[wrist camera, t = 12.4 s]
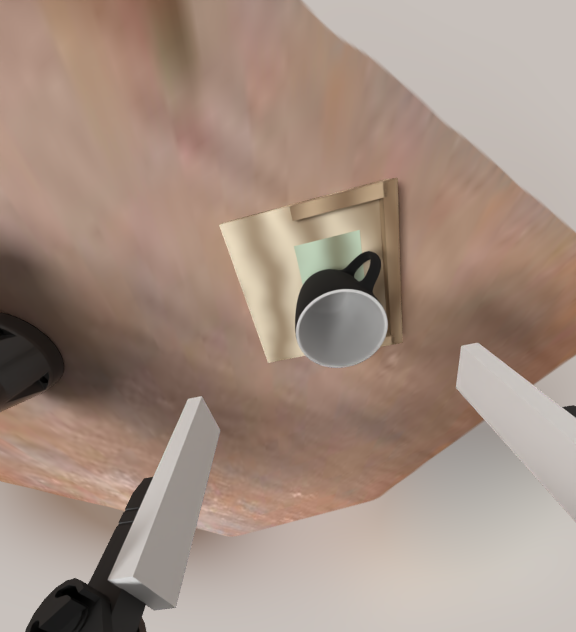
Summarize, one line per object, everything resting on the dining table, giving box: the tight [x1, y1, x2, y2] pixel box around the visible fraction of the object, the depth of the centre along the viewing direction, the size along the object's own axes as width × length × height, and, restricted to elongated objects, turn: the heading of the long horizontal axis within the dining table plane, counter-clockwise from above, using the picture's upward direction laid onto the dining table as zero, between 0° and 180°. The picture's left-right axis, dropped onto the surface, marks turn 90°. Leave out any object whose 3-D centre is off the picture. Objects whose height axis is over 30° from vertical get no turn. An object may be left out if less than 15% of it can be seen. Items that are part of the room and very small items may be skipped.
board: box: [219, 178, 402, 363], centre depth 32 cm, size 20×21×4 cm
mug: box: [295, 251, 388, 368], centre depth 27 cm, size 12×9×10 cm
